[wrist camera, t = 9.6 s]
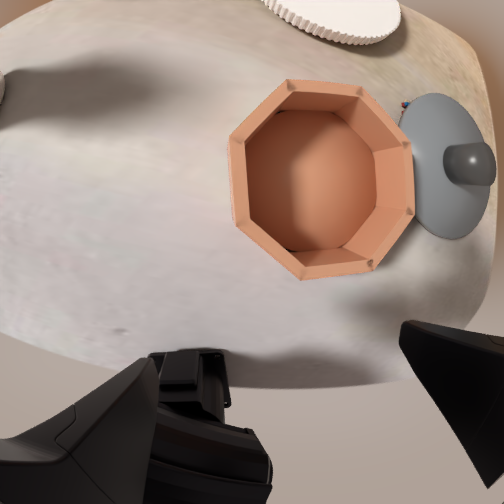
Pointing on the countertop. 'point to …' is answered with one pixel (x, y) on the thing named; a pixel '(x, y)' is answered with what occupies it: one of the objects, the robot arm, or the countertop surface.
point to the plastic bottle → (2, 86)
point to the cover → (447, 165)
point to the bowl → (321, 179)
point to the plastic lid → (341, 18)
